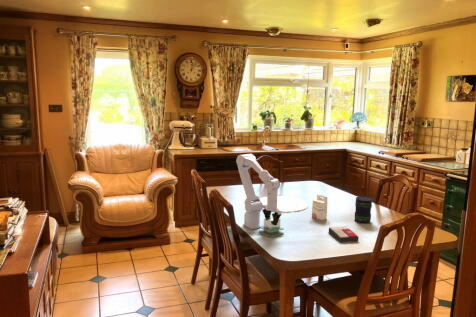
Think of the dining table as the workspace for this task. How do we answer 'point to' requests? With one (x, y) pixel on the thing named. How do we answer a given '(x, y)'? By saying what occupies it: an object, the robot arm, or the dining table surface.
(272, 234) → the stand
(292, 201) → the lazy susan
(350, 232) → the calculator
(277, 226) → the block
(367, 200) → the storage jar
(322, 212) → the ink cartridge box
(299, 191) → the dining table surface
